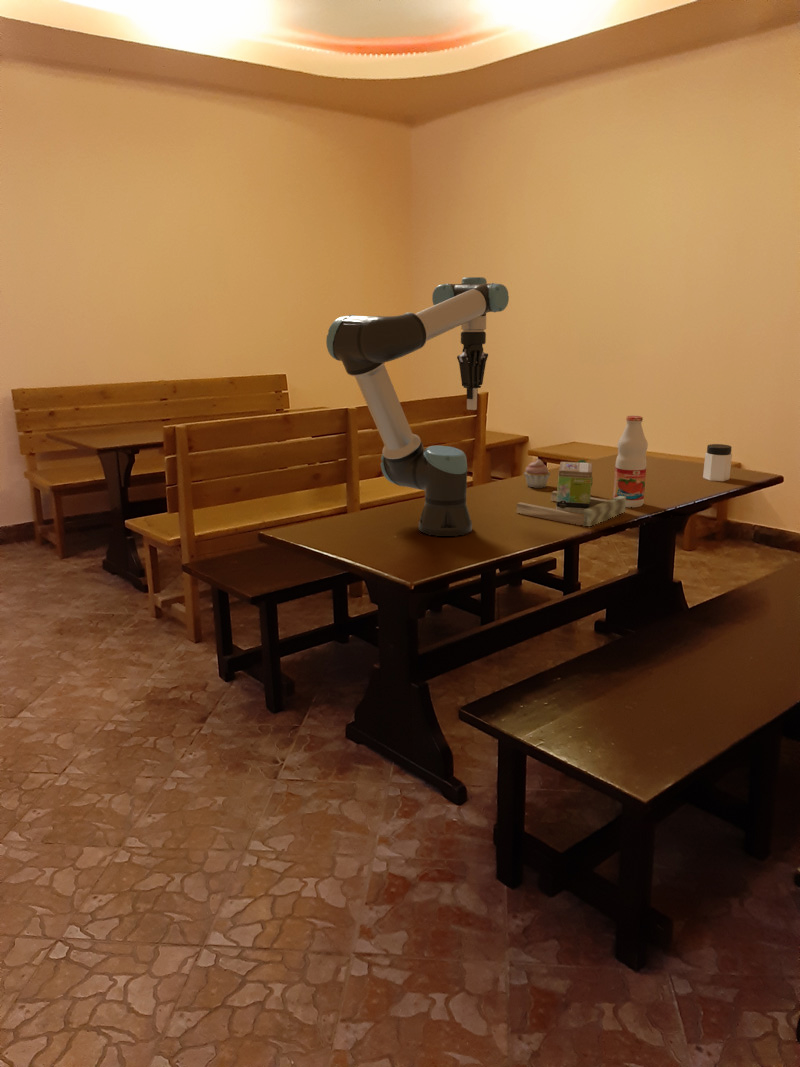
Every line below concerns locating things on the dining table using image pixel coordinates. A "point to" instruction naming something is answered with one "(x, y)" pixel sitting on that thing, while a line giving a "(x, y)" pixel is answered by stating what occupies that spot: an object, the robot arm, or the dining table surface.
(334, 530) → the dining table surface
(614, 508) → the chute
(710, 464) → the jar
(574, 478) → the tea box
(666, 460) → the dining table surface
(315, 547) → the dining table surface
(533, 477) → the cupcake
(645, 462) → the fruit juice
